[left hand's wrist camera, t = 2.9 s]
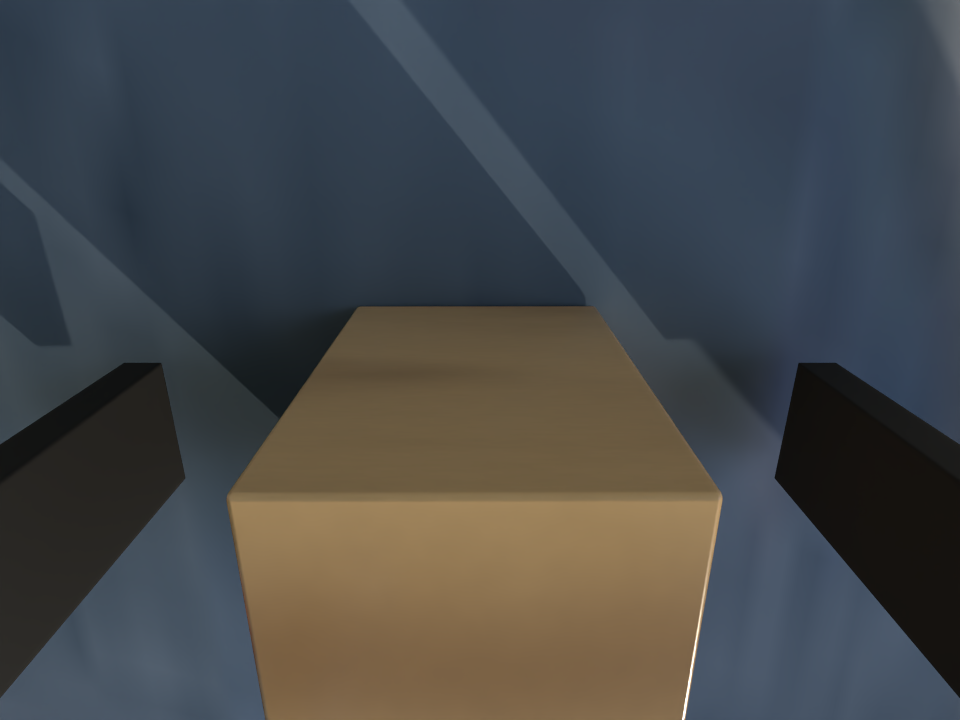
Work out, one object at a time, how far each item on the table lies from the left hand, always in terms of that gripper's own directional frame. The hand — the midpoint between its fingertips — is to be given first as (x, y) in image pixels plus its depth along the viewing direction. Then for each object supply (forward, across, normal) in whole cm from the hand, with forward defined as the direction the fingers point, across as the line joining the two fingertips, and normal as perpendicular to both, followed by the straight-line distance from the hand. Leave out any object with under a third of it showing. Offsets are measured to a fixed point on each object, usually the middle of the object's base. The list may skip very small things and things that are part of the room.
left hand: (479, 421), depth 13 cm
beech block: (+1, 0, 0) cm, 1 cm away
